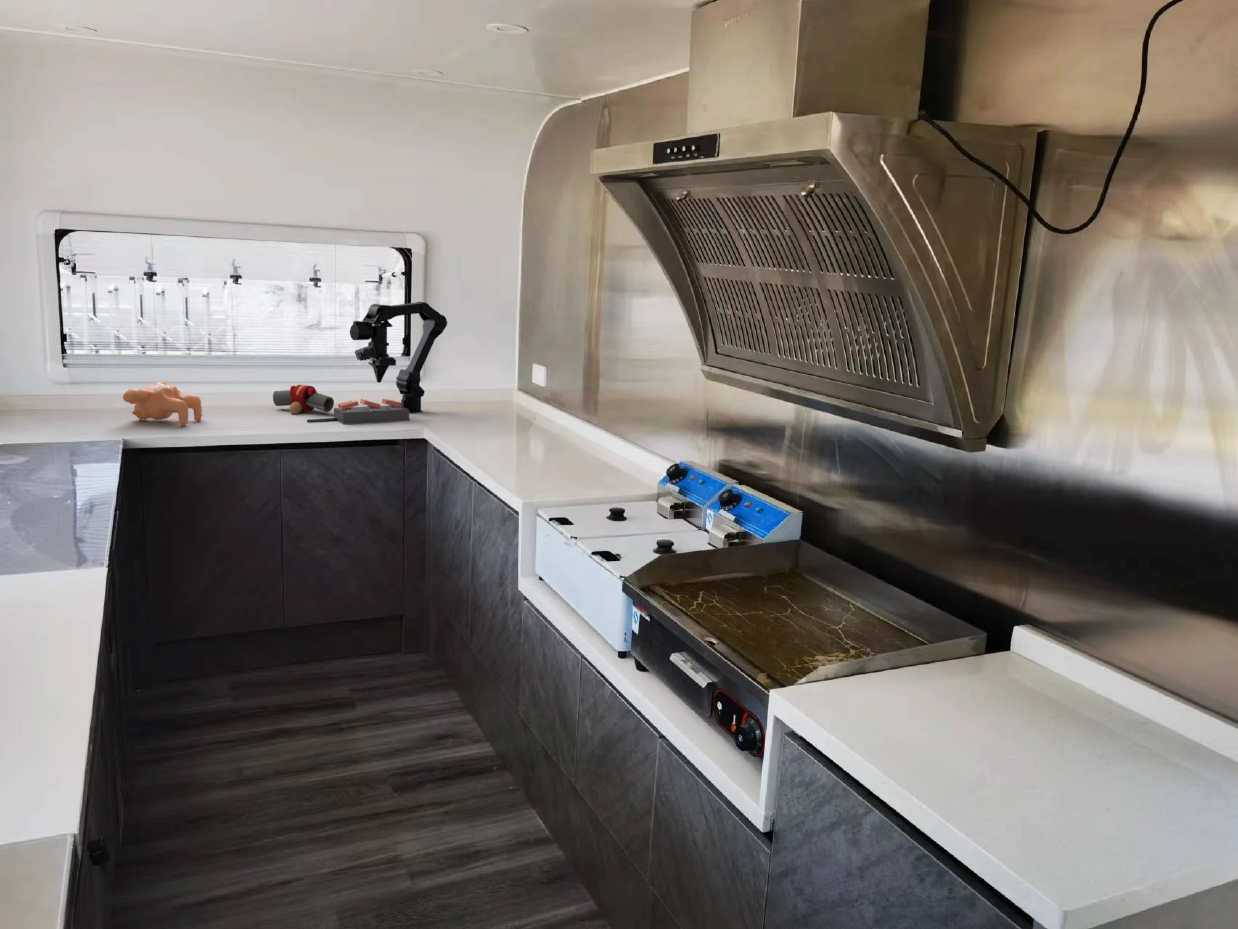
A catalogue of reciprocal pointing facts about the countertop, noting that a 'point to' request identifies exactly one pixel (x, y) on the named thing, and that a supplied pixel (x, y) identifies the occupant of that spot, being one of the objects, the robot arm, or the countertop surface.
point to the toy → (303, 399)
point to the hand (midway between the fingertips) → (378, 382)
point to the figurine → (163, 403)
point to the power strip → (367, 415)
